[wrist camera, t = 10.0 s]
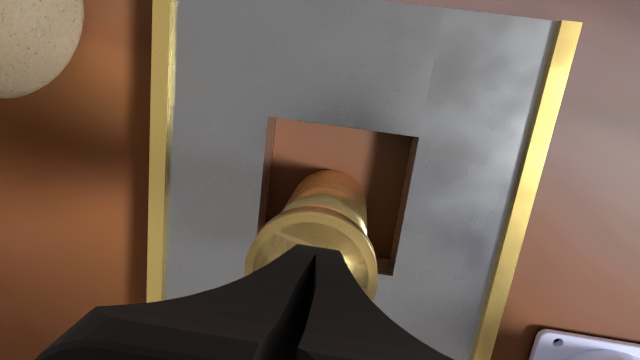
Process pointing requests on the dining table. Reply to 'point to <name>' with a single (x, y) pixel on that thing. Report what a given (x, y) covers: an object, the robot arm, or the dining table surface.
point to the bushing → (321, 226)
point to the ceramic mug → (36, 42)
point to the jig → (361, 113)
